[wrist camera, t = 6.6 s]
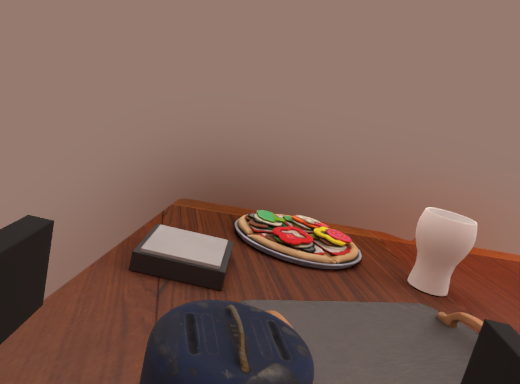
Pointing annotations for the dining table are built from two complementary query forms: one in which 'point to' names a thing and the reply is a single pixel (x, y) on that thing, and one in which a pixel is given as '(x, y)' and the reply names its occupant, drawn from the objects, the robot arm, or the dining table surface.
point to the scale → (183, 256)
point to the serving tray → (379, 340)
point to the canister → (225, 347)
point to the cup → (440, 248)
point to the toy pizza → (298, 240)
